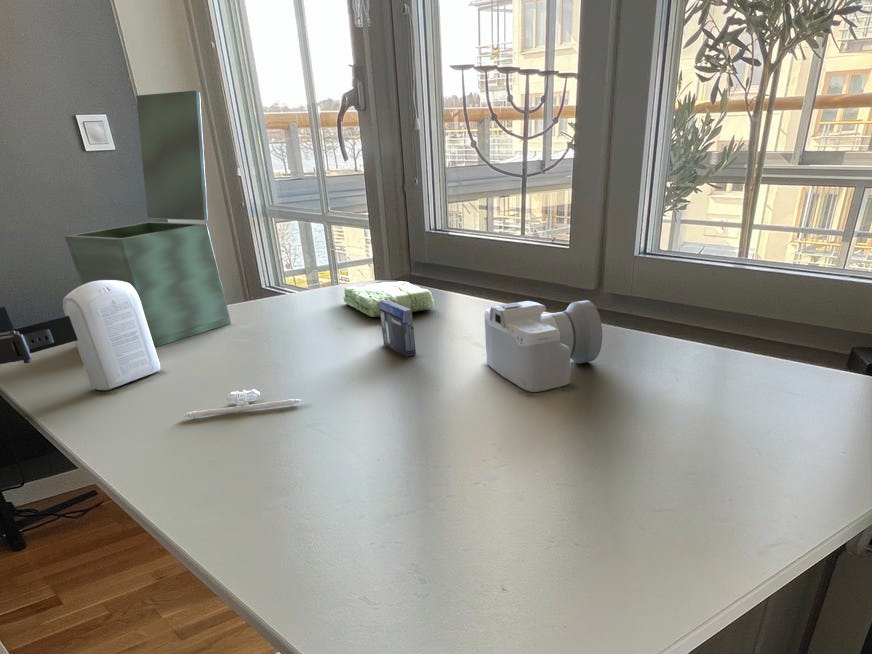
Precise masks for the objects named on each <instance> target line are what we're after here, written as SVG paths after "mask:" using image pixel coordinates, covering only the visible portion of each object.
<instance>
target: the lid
mask: <svg viewBox="0 0 872 654" xmlns="http://www.w3.org/2000/svg"><path fill="white" fill-rule="evenodd" d="M135 96H136V107H137V117H138V128H139V129H138V130H139V137H140V138H139V139H140V141H139V142H140V150H141V161H142V162H141V163H142V172H143V181H144V192H145V203H146V214H147V219H150V220H151V219H153V220H175V221H177V220H178V221H199V222H200V221H202V222H208V220H209V217H208V216H209V215H208V203H207V202H208V201H207V184H206V171H205V155H204V153H205V152H204V137H203V136H204V135H203V121H202V108H201V107H202V106H201V105H202V104H201V92H200V91H198V90H185V91H172V92H163V93H162V92H161V93H160V92H159V93H148V94H140V95H139V94H137V95H135Z"/></svg>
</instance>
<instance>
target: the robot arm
mask: <svg viewBox="0 0 872 654" xmlns="http://www.w3.org/2000/svg"><path fill="white" fill-rule="evenodd" d="M77 340H78V338H77V336H76V333H75V330H74V328H73V325H72V323H71V320H70V317H69V316H66V315H65V314H64V315H61V316H57V317H53V318H48V319H45V320H41V321H37V322H31V323H29V324H24V325H21V326H17V327H14V324H13V323H12V321H11V318H10V315H9V313H8V311H7V308H6V307H5V306H0V365H4V364H9V363H16V362H22V361H23V363H24V364H25V365H27V364H30V363H31V362H32V360H31V359H32V358H33V357H32V355H31V354H34V353H38V352H41V351H44V350H49V349H52V348H56V347H58V346H62V345H66V344H70V343H74V342H75V341H77Z"/></svg>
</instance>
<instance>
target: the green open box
mask: <svg viewBox="0 0 872 654" xmlns="http://www.w3.org/2000/svg"><path fill="white" fill-rule="evenodd" d="M64 240H65V242H66V245H67V248H68V250H69V254H70V256H71V259H72V262H73V264H74V267H75V270H76V273H77V275H78V278H79V281H80V284H81V285H84V284H86V283H89V282H93V281H99V280H116V281H123V282H127V283H129V284H130V285H132V287H133V288H134V289H135V290H136V292H137V294H138V296H139V298H140V302H141V305H142V308H143V312H144V315H145V318H146V321H147V325H148V328H149V331H150V334H151V338H152V341H153V344H154V347H155V348H157V347H160V346H164V345H167V344H170V343H174V342H177V341H179V340H183V339H187V338H190V337H192V336H195V335H198V334H202V333H205V332H209V331H211V330H214V329H217V328H221V327H224V326H227V325H230V324H232V321H231V317H230V313H229V309H228V304H227V301H226V297H225V293H224V288H223V284H222V281H221V276H220V273H219V269H218V265H217V261H216V256H215V253H214V248H213V244H212V240H211V235H210V232H209V227H208V224H207V223H199V222H198V223H197V222H195V223H194V222H191V223H190V222H174V221H173V222H172V221H171V222H170V221H146V222H139V223H133V224H128V225H122V226H116V227H115V226H114V227H109V228H104V229H98V230H92V231H86V232H81V233H75V234H69V235H64Z"/></svg>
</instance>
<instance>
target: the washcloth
mask: <svg viewBox="0 0 872 654" xmlns="http://www.w3.org/2000/svg"><path fill="white" fill-rule="evenodd" d="M343 292H344V293H343V294H344V296H343V302H344V303H345V304H347V305H349V306H350V308H351V307H352V308H354V309H355V310H357V311H359V312H360V313H363V314H365V315H366V316H369V317H371V318H376V317H377V318H379V317H381V316H380V302H381V301H386V300H389V301H392V302H394V303H397V304H399V305H401V306H404V307H406V308H408V309H411V310H412V313H415V312H420V311H429V310H430V309H432V308H433V307H434V304H435V299H434V296H433V293H432V292H431V291H430V290H428V289H426V288H421V287H420V286H419V285H418V286H417V285H413V284H411V283H410V282H408V281H383V282H380V283H369V284H366V285H364V286H353V285H352V286H351V285H350V286H347V287H345V288H344V291H343Z"/></svg>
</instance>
